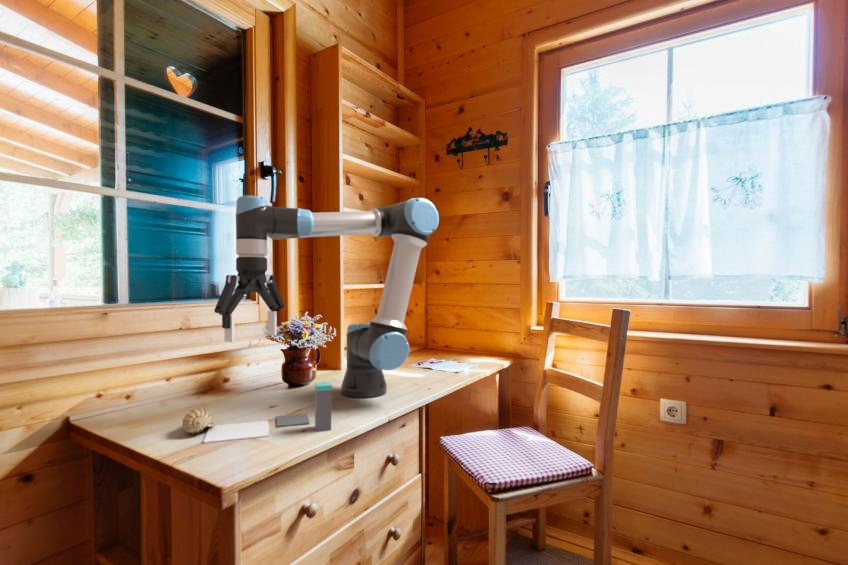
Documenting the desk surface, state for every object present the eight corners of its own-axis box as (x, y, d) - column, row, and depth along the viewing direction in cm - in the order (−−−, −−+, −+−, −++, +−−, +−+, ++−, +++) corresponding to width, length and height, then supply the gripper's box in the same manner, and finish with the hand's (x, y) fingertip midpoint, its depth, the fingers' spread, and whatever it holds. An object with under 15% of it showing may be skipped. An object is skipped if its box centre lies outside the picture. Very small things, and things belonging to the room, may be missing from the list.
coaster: (306, 414, 120) (306, 413, 120) (309, 424, 113) (309, 422, 113) (276, 417, 117) (276, 416, 117) (276, 427, 110) (276, 425, 110)
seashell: (176, 443, 106) (190, 434, 100) (171, 419, 108) (184, 408, 102) (209, 433, 112) (224, 424, 106) (203, 410, 114) (218, 400, 107)
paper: (268, 421, 114) (268, 420, 114) (268, 436, 104) (268, 435, 104) (209, 427, 109) (209, 426, 109) (203, 443, 99) (203, 442, 99)
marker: (329, 425, 112) (330, 381, 112) (331, 429, 109) (332, 385, 109) (314, 426, 111) (315, 382, 111) (316, 431, 107) (316, 386, 107)
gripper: (277, 258, 125) (277, 331, 126) (198, 254, 103) (198, 343, 104) (297, 258, 122) (297, 333, 122) (219, 254, 100) (219, 346, 100)
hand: (251, 338), depth 113 cm, fingers open, 13 cm apart
